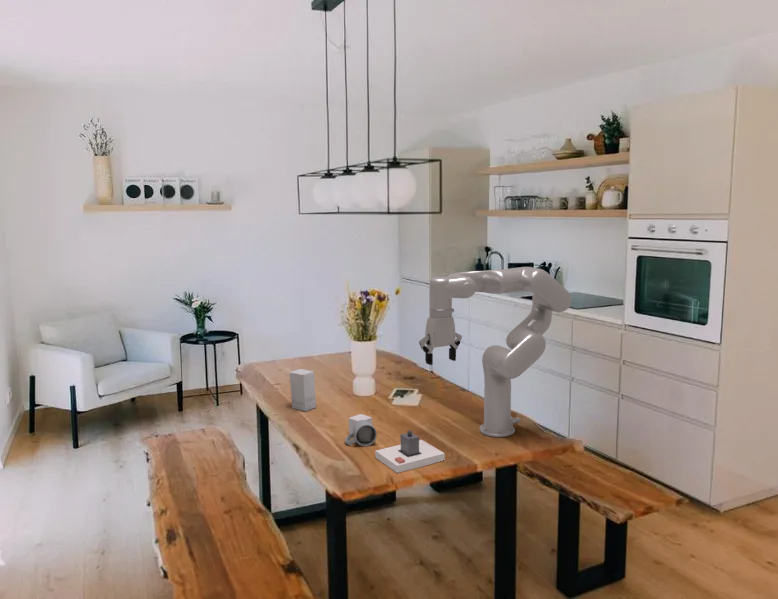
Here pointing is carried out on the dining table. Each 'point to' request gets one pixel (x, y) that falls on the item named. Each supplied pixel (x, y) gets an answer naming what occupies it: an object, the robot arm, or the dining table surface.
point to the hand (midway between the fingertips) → (440, 362)
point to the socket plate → (404, 463)
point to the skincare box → (303, 389)
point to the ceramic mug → (362, 434)
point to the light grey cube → (356, 418)
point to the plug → (409, 444)
